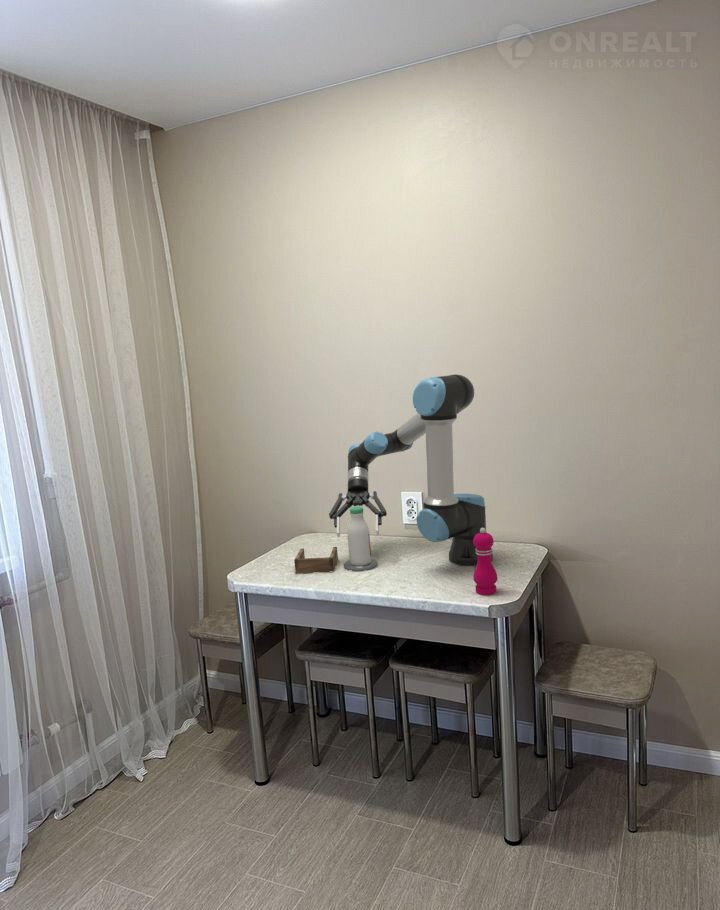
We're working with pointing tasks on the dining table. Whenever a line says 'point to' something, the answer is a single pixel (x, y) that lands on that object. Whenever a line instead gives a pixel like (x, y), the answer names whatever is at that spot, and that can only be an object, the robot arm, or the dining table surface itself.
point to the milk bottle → (358, 538)
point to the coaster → (361, 568)
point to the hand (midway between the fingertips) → (357, 534)
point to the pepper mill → (484, 564)
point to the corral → (315, 563)
